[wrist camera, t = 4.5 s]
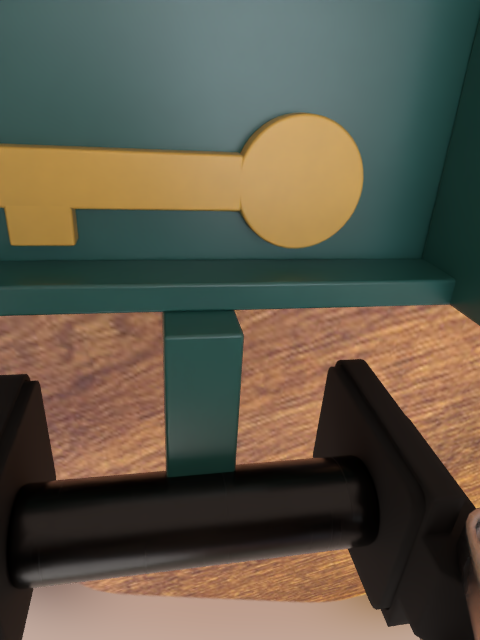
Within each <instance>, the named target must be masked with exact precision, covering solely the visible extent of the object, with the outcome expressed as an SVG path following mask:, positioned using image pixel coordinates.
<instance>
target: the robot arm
mask: <svg viewBox="0 0 480 640" xmlns="http://www.w3.org/2000/svg"><path fill="white" fill-rule="evenodd" d="M344 455H353V456H356V457H358V458H360V459H361V460H362V461H363V463H364V464H365V466H366V467H367V469H368V471H369V473H370V475H371V477H372V480H373V483H374V486H375V490H376V494H377V499H378V505H379V530H378V535H377V537H376V539H375V541H374V542H373V543H372V544H370V545H369V546H365V547H357V548H349V549H348V550H349V553H350V555H351V558H352V560H353V562H354V565H355V567H356V570H357V572H358V575H359V577H360V579H361V582H362V584H363V587H364V589H365V591H366V594H367V596H368V599H369V601H370V603H371V605H372V606H373V608H375V609H376V610H377V609H381V611H382V613H383V616H384V618H385V620H386V623H387V625H388V627H390V626H396V625H403V624H410V626H411V628H412V630H413V632H414V634H415V635H416V636H418V637H419V638H420V640H480V508H477V509H476V508H475V506H474V505H473V504H472V502H471V501H470V500H469V498H468V497H467V496H466V494H465V493H464V492H463V490H462V489H461V488H460V486H459V485H458V484H457V482H456V481H455V480H454V478H453V477H452V476H451V474H450V473H449V472H448V470H447V469H446V467H445V466H444V465H443V463H442V462H441V461H440V459H439V458H438V457H437V455H436V454H435V453H434V451H433V450H432V449H431V447H430V446H429V445H428V443H427V442H426V441H425V439H424V438H423V437H422V435H421V434H420V433H419V431H418V430H417V429H416V427H415V426H414V425H413V423H412V422H411V420H410V419H409V418H408V417H407V416H406V415H405V414H404V413H403V411H402V410H401V409H400V407H399V406H398V405H397V403H396V402H395V401H394V399H393V398H392V397H391V395H390V394H389V393H388V391H387V390H386V389H385V387H384V386H383V384H382V383H381V382H380V380H379V379H378V378H377V376H376V375H375V374H374V372H373V371H372V370H371V368H370V367H369V366H368V364H367V363H366V362H365V361H364V360H362V359H355V360H339V361H337V363H336V365H335V367H330V368H329V370H328V374H327V380H326V385H325V391H324V396H323V402H322V407H321V413H320V418H319V424H318V429H317V435H316V440H315V446H314V451H313V458H321V457H333V456H344ZM44 481H56V474H55V468H54V462H53V456H52V451H51V445H50V439H49V433H48V428H47V422H46V416H45V411H44V405H43V399H42V393H41V388H40V384H39V381H30V378H29V376H28V375H27V374H18V375H0V640H22V637H23V632H24V628H25V623H26V619H27V614H28V610H29V606H30V601H31V597H32V592H33V588H29V589H21V590H20V589H17V588H15V587H13V585H12V583H11V581H10V577H9V572H8V565H7V537H8V528H9V521H10V516H11V512H12V508H13V504H14V501H15V499H16V496H17V494H18V491H19V490H20V488H21V487H22V486H23V485H25V484H27V483H32V482H44Z"/></svg>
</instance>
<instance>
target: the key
mask: <svg viewBox="0 0 480 640" xmlns="http://www.w3.org/2000/svg"><path fill="white" fill-rule="evenodd" d="M362 187H363V163H362V159H361V155H360V152H359V149H358V147H357V145H356V143H355V141H354V140H353V138H352V137H351V135H350V134H349V133H348V132H347V131H346V130H345V129H344V128H343V127H342V126H341V125H340V124H338V123H337V122H335V121H334V120H332V119H329V118H327V117H325V116H321V115H318V114H311V113H290V114H285V115H282V116H279V117H276V118H274V119H272V120H270V121H269V122H267V123H266V124H264V125H263V126H261V127H260V128H259V129H258V130H257V131H256V132H255V133H254V134H253V135H252V136H251V137H250V138H249V140H248V141H247V142H246V144H245V145H244V147H243V149H242V151H241V153H238V152H213V151H187V150H160V149H133V148H106V147H79V146H53V145H26V144H0V208H4V211H5V217H6V223H7V229H8V235H9V241H10V244H11V245H12V246H74V245H75V244H76V242H77V240H78V229H77V219H76V209H110V210H182V211H240V213H241V215H242V217H243V218H244V220H245V221H246V223H247V224H248V225H249V227H250V228H251V229H252V230H253V231H254V232H255V233H256V234H257V235H258V236H259V237H260V238H262V239H263V240H265V241H267V242H269V243H271V244H273V245H276V246H279V247H283V248H292V249H296V248H305V247H310V246H313V245H316V244H319V243H321V242H323V241H325V240H327V239H328V238H330V237H331V236H333V235H334V234H335V233H337V232H338V231H339V230H340V229H341V228H342V227H343V226H344V225H345V224H346V222H347V221H348V220H349V219H350V217H351V215H352V214H353V212H354V211H355V208H356V206H357V204H358V202H359V199H360V196H361V192H362Z"/></svg>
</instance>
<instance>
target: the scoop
mask: <svg viewBox="0 0 480 640" xmlns="http://www.w3.org/2000/svg"><path fill="white" fill-rule="evenodd" d="M290 113H311V114H318V115H321V116H325V117H327V118H329V119H332V120H334V121H335V122H337V123H338V124H340V125H341V126H342V127H343V128H344V129H345V130H346V131H347V132H348V133H349V134H350V135H351V137H352V138H353V140H354V141H355V143H356V145H357V147H358V149H359V152H360V155H361V159H362V163H363V187H362V192H361V196H360V199H359V202H358V204H357V206H356V208H355V211H354V212H353V214H352V215H351V217H350V219H349V220H348V221H347V222H346V224H345V225H344V226H343V227H342V228H341V229H340V230H339V231H338V232H337V233H335V234H334V235H333V236H331V237H330V238H328V239H327V240H325V241H323V242H321V243H319V244H316V245H313V246H310V247H305V248H296V249H292V248H283V247H279V246H276V245H273V244H271V243H269V242H267V241H265V240H263V239H262V238H260V237H259V236H258V235H257V234H256V233H255V232H254V231H253V230H252V229H251V228H250V227H249V225H248V224H247V223H246V221H245V220H244V218H243V217H242V215H241V213H240V211H182V210H110V209H76V219H77V229H78V240H77V242H76V244H75V245H74V246H12V245H11V244H10V241H9V235H8V229H7V223H6V217H5V211H4V208H0V316H13V315H52V314H92V313H132V312H162V327H163V370H164V413H165V456H166V471H160V472H148V473H136V474H125V475H113V476H102V477H90V478H79V479H67V480H56V481H44V482H32V483H27V484H25V485H23V486H22V487H21V488H20V490H19V491H18V494H17V496H16V499H15V501H14V504H13V508H12V512H11V516H10V521H9V528H8V537H7V565H8V572H9V577H10V581H11V583H12V585H13V587H15V588H17V589H20V590H21V589H29V588H37V587H45V586H53V585H61V584H69V583H77V582H85V581H93V580H101V579H109V578H117V577H125V576H133V575H141V574H149V573H157V572H165V571H173V570H181V569H189V568H197V567H205V566H213V565H221V564H229V563H237V562H245V561H253V560H261V559H269V558H277V557H285V556H293V555H301V554H309V553H317V552H325V551H333V550H341V549H349V548H357V547H365V546H369V545H370V544H372V543H373V542H374V541H375V539H376V537H377V535H378V530H379V505H378V499H377V494H376V490H375V486H374V483H373V480H372V477H371V475H370V473H369V471H368V469H367V467H366V466H365V464H364V463H363V461H362V460H361V459H360V458H358V457H356V456H353V455H344V456H333V457H321V458H310V459H298V460H287V461H275V462H263V463H252V464H240V465H236V450H237V435H238V419H239V404H240V389H241V373H242V358H243V343H244V335H243V332H242V329H241V327H240V324H239V322H238V319H237V316H236V314H235V311H234V310H251V309H291V308H331V307H371V306H410V305H451V306H453V307H454V308H456V309H457V310H458V311H460V312H461V313H463V314H464V315H465V316H467V317H468V318H470V319H471V320H472V321H474V322H475V323H477V324H478V325H479V326H480V0H0V144H26V145H53V146H79V147H106V148H133V149H160V150H187V151H213V152H238V153H241V151H242V149H243V147H244V145H245V144H246V142H247V141H248V140H249V138H250V137H251V136H252V135H253V134H254V133H255V132H256V131H257V130H258V129H259V128H260V127H261V126H263V125H264V124H266V123H267V122H269V121H270V120H272V119H274V118H276V117H279V116H282V115H285V114H290Z"/></svg>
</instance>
